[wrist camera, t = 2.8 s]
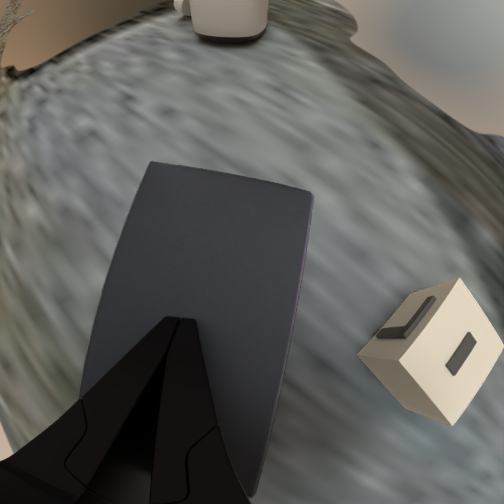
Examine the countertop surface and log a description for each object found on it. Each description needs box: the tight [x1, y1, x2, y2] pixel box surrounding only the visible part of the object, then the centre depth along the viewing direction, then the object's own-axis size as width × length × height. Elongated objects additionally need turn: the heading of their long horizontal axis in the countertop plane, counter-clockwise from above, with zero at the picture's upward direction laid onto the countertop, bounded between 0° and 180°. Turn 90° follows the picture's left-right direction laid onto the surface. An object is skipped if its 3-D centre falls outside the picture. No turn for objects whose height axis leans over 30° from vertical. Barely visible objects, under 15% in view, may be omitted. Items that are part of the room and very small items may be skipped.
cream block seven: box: [357, 278, 504, 426], centre depth 15 cm, size 6×6×6 cm
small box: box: [77, 161, 314, 499], centre depth 13 cm, size 11×6×10 cm, turn 168°
